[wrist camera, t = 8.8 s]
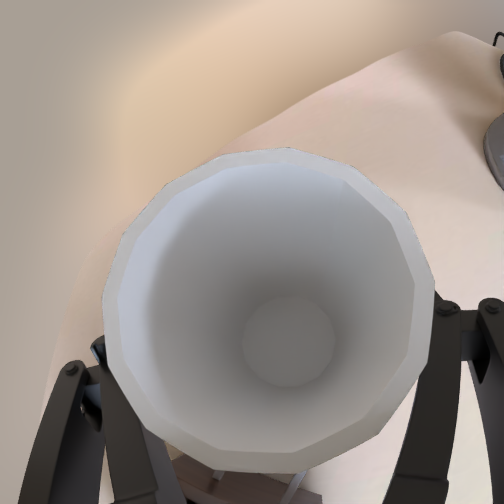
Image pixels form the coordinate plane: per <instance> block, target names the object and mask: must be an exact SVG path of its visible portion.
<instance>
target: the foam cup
mask: <svg viewBox="0 0 504 504" xmlns="http://www.w3.org/2000/svg"><path fill="white" fill-rule="evenodd" d="M434 292H435V280H434V278H433V275H432V272H431V270H430V267H429V264H428V262H427V259H426V257H425V254H424V252H423V249H422V247H421V245H420V242H419V240H418V238H417V235H416V233H415V231H414V228H413V226H412V224H411V222H410V219H409V217H408V215H407V213H406V212H405V211H404V210H403V209H402V208H401V207H400V206H399V205H398V204H397V203H395V202H394V201H393V200H392V199H391V198H390V197H389V196H388V195H386V194H385V193H384V192H383V191H382V190H381V189H380V188H378V187H377V186H376V185H375V184H374V183H373V182H371V181H370V180H369V179H368V178H367V177H366V176H364V175H363V174H362V173H361V172H359V171H358V170H357V169H356V168H355V167H353V166H350V165H347V164H344V163H341V162H338V161H335V160H331V159H328V158H325V157H321V156H318V155H315V154H311V153H308V152H304V151H301V150H297V149H293V148H290V147H286V148H275V149H265V150H255V151H246V152H238V153H230V154H223V155H221V156H219V157H217V158H215V159H213V160H211V161H209V162H207V163H205V164H203V165H201V166H199V167H197V168H195V169H194V170H192V171H190V172H188V173H186V174H184V175H182V176H180V177H179V178H177V179H175V180H173V181H171V182H170V183H168V184H166V185H165V186H164V187H163V188H162V189H161V190H160V191H159V192H158V194H157V195H156V196H155V197H154V198H153V199H152V200H151V201H150V203H149V204H148V205H147V206H146V207H145V208H144V209H143V211H142V212H141V213H140V214H139V215H138V216H137V218H136V219H135V220H134V221H133V222H132V223H131V225H130V226H129V227H128V228H127V229H126V231H125V232H124V233H123V235H122V238H121V240H120V243H119V246H118V249H117V251H116V254H115V257H114V260H113V263H112V266H111V269H110V272H109V275H108V278H107V281H106V284H105V287H104V291H103V294H102V312H103V325H104V336H105V345H106V354H107V362H108V367H109V368H110V370H111V372H112V374H113V376H114V377H115V379H116V381H117V383H118V384H119V386H120V388H121V390H122V391H123V393H124V395H125V396H126V398H127V400H128V401H129V403H130V405H131V406H132V408H133V409H134V411H135V413H136V414H137V416H138V417H139V419H140V420H141V422H142V423H143V425H144V426H145V428H146V429H148V430H149V431H151V432H152V433H154V434H155V435H157V436H158V437H160V438H161V439H163V440H164V441H166V442H167V443H169V444H170V445H172V446H174V447H175V448H177V449H179V450H180V451H182V452H183V453H185V454H187V455H189V456H190V457H192V458H194V459H195V460H197V461H199V462H201V463H203V464H204V465H206V466H208V467H210V468H212V469H214V470H223V471H235V472H249V473H274V474H299V473H301V472H304V471H306V470H308V469H311V468H313V467H315V466H317V465H320V464H322V463H324V462H326V461H328V460H330V459H332V458H334V457H337V456H339V455H341V454H343V453H345V452H347V451H348V450H350V449H352V448H354V447H356V446H358V445H360V444H362V443H364V442H365V441H367V440H369V439H371V438H372V437H374V436H376V435H378V434H379V432H380V431H381V430H382V429H383V427H384V426H385V425H386V423H387V422H388V421H389V419H390V418H391V417H392V415H393V414H394V412H395V411H396V410H397V408H398V407H399V405H400V404H401V403H402V401H403V400H404V398H405V397H406V395H407V394H408V392H409V391H410V389H411V388H412V386H413V385H414V383H415V382H416V380H417V378H418V377H419V375H420V374H421V372H422V370H423V369H424V367H425V366H426V364H427V361H428V354H429V346H430V338H431V329H432V319H433V307H434Z"/></svg>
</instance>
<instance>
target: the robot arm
mask: <svg viewBox="0 0 504 504" xmlns="http://www.w3.org/2000/svg"><path fill="white" fill-rule="evenodd" d="M499 35H502V36H503V37H504V33H502V32H498V33H496V35H495V38H494V42H493V45H492V46H494V47H495V46H496V43H497V39H498V37H499ZM500 67H501V72H502V75H503V78H504V54H503V55H502V56H501V59H500ZM484 151H485V156H486V159H487V162H488V164H489V167H490V169H491V171H492V173H493V175H494V176H495V178H496V180H497V181H498V183H499V184H500V186H501V187H502V189H503V190H504V113H503V114H502V115H500V116H499V117H498V118H496V119H495V120H494V122H493V123H492V124H491V125H490V127H489V129H488V131H487V132H486V135H485V138H484ZM90 349H91V351H92V353H93V354H94V356H95V358H96V360H97V361H98V363H99V365H97V366H93V367H89V368H86V366H85V365H84V363H83V362H82V361H80V360H75V361H71V362H69V363H67V364H66V365H65V366H64V367H63V368H62V369H61V371H60V373H59V375H58V378H57V380H56V383H55V385H54V388H53V391H52V393H51V396H50V398H49V401H48V404H47V406H46V409H45V412H44V415H43V418H42V420H41V423H40V426H39V429H38V432H37V435H36V438H35V442H34V445H33V448H32V451H31V455H30V458H29V461H28V465H27V468H26V472H25V476H24V480H23V484H22V488H21V492H20V496H19V500H18V504H98V503H99V491H100V481H101V472H102V464H103V456H104V449H105V445H106V452H107V459H108V466H109V472H110V477H111V483H112V488H113V493H114V499H115V501H114V503H110V504H187V502H186V500H185V497H184V495H183V492H182V490H181V487H180V485H179V482H178V480H177V477H176V474H175V472H174V469H173V466H172V463H171V461H170V458H169V455H168V452H167V449H166V446H165V443H164V440H163V439H161V438H160V437H158V436H157V435H155V434H154V433H152V432H151V431H149V430H148V429H146V428H145V426H144V425H143V423H142V422H141V420H140V419H139V417H138V416H137V414H136V413H135V411H134V409H133V408H132V406H131V405H130V403H129V401H128V400H127V398H126V396H125V395H124V393H123V391H122V390H121V388H120V386H119V384H118V383H117V381H116V379H115V377H114V376H113V374H112V372H111V370H110V368H109V367H108V362H107V354H106V345H105V336H104V335H103V336H101V337H99V338H97V339H96V340H95V341H94V342H93V343H92V344H91V347H90ZM461 361H467V362H468V365H469V369H470V372H471V376H472V380H473V384H474V387H475V391H476V395H477V400H478V404H479V408H480V413H481V418H482V422H483V428H484V433H485V438H486V444H487V451H488V458H489V465H490V473H491V483H492V495H493V504H504V302H503V301H501V300H499V299H496V298H486V299H483V300H482V301H480V303H479V305H478V310H461V309H460V307H459V306H458V305H457V304H456V303H454V302H452V301H447V300H443V299H442V298H441V297H440V295H439V294H438V293H437V292H436V291H435V292H434V307H433V319H432V329H431V338H430V346H429V354H428V361H427V364H426V366H425V367H424V369H423V370H422V372H421V374H420V375H419V378H418V383H417V388H416V393H415V398H414V402H413V406H412V411H411V415H410V419H409V423H408V427H407V430H406V434H405V438H404V441H403V444H402V448H401V451H400V454H399V458H398V461H397V464H396V467H395V470H394V473H393V476H392V479H391V481H390V484H389V487H388V490H387V492H386V495H385V497H384V500H383V502H382V504H445V501H446V497H447V493H448V488H449V481H448V480H447V474H448V469H449V464H450V459H451V454H452V448H453V442H454V436H455V429H456V421H457V413H458V404H459V393H460V378H461ZM81 407H82V411H81Z"/></svg>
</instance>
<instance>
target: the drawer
mask: <svg viewBox="0 0 504 504" xmlns="http://www.w3.org/2000/svg"><path fill="white" fill-rule="evenodd" d="M171 463H172V466H173V469H174V472H175V474H176V477H177V480H178V482H179V485H180V487H181V490H182V492H183V495H184V497H185V500H186V502H187V504H322V495H319V494H316V493H313V492H309V491H306V490H303V489H300V488H298V486H299V484H300V482H301V481H302V479H303V477H304V475H305V473H306V471H307V470H306V471H304V472H301V473H299V474H294V476H293V478H292V480H291V481H290V483H289V484H286V483H283V482H280V481H277V480H275V479H272V478H270V477H267V476H264V475H262V474H259V473H249V472H235V471H223V470H214V469H212V468H210V467H208V466H206V465H204V464H203V463H201V462H199V461H197V460H195V459H194V458H192V457H190V456H189V455H187V454H183V455H182V456H180V457H178V458H176V459H174V460H172V461H171Z"/></svg>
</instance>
